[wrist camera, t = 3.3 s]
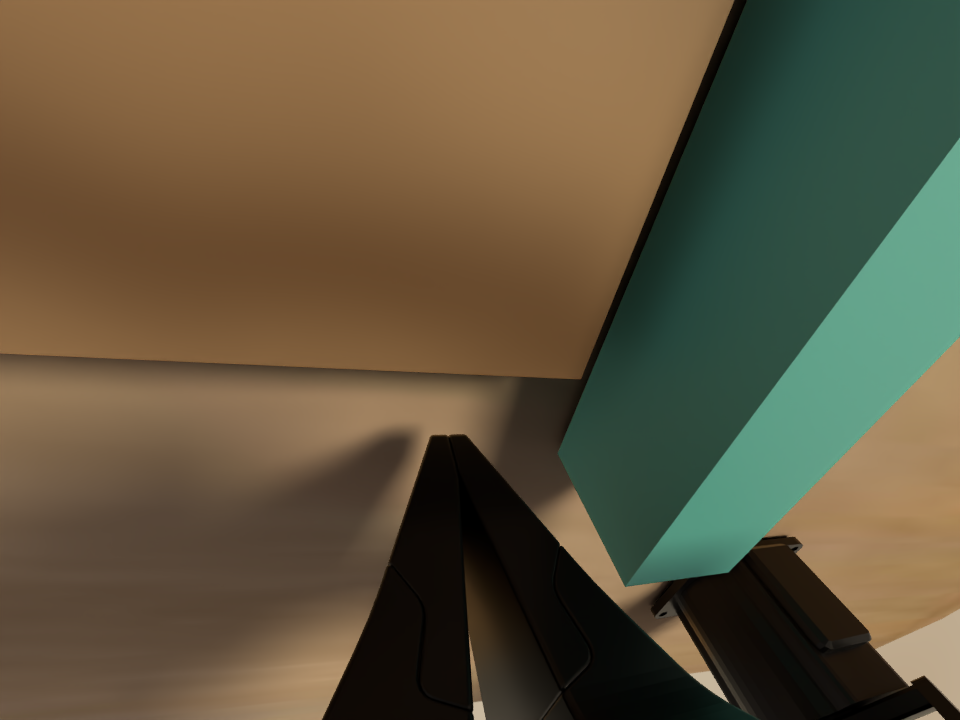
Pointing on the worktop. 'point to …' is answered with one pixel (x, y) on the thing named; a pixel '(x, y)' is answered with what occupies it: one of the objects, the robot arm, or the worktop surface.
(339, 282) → the flat wooden board
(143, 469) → the worktop surface
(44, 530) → the worktop surface
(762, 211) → the folding leg
